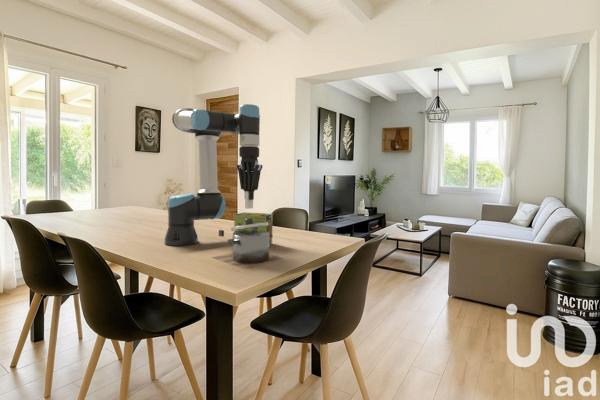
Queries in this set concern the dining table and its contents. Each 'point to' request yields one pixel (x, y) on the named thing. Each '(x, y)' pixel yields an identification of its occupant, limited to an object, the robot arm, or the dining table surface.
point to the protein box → (255, 221)
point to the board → (229, 259)
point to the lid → (249, 225)
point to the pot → (250, 246)
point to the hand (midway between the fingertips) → (249, 208)
